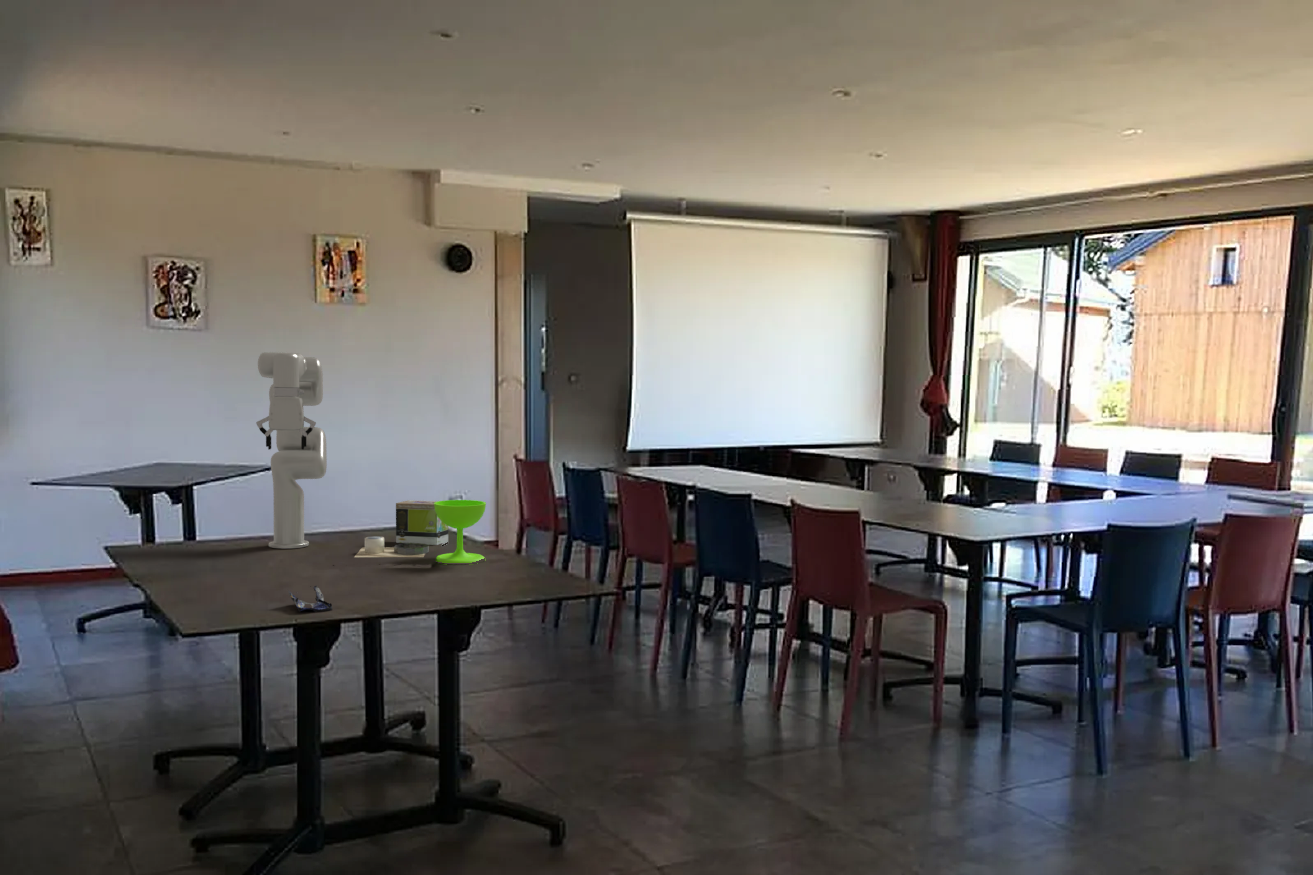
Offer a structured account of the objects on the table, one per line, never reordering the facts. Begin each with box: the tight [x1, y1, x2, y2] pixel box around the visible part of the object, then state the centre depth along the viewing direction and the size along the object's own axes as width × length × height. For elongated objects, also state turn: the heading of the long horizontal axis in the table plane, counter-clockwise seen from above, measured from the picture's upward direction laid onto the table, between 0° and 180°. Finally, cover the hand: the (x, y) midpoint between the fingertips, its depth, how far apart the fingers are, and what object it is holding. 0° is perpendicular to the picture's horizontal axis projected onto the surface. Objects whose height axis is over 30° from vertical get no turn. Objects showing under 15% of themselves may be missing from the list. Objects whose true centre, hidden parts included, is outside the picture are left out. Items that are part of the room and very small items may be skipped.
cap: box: [364, 535, 385, 554], centre depth 344 cm, size 6×6×5 cm
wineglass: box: [434, 499, 487, 563], centre depth 339 cm, size 16×16×18 cm
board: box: [354, 546, 426, 558], centre depth 345 cm, size 18×21×1 cm
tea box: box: [395, 499, 449, 546], centre depth 366 cm, size 15×10×15 cm, turn 77°
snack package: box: [287, 585, 333, 613], centre depth 270 cm, size 12×6×12 cm
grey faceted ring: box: [393, 543, 430, 555], centre depth 346 cm, size 10×10×2 cm
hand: (286, 449), depth 334 cm, fingers open, 9 cm apart
